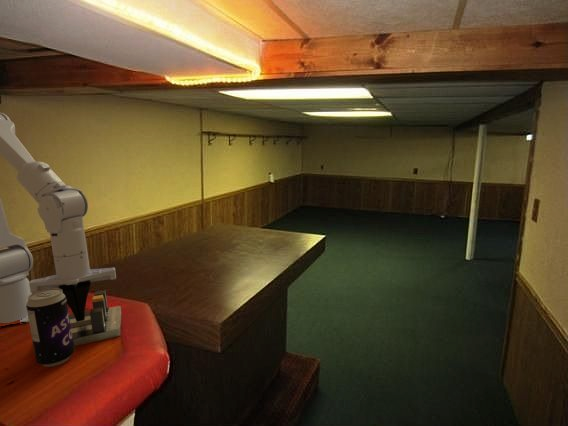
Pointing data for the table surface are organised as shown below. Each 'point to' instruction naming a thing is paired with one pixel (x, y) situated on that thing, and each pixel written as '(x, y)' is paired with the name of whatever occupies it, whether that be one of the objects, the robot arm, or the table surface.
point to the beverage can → (50, 327)
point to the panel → (99, 336)
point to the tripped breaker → (99, 304)
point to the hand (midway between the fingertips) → (80, 319)
